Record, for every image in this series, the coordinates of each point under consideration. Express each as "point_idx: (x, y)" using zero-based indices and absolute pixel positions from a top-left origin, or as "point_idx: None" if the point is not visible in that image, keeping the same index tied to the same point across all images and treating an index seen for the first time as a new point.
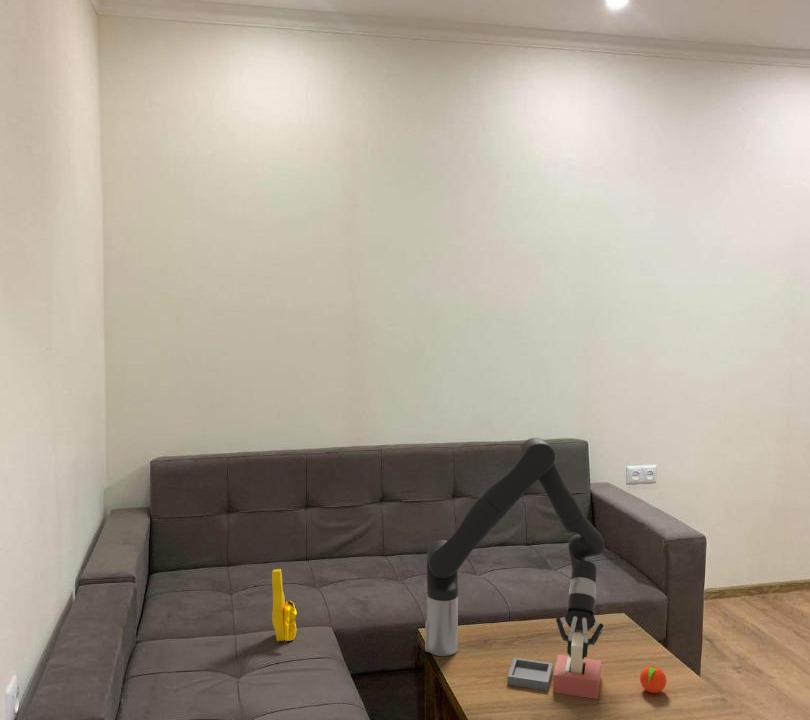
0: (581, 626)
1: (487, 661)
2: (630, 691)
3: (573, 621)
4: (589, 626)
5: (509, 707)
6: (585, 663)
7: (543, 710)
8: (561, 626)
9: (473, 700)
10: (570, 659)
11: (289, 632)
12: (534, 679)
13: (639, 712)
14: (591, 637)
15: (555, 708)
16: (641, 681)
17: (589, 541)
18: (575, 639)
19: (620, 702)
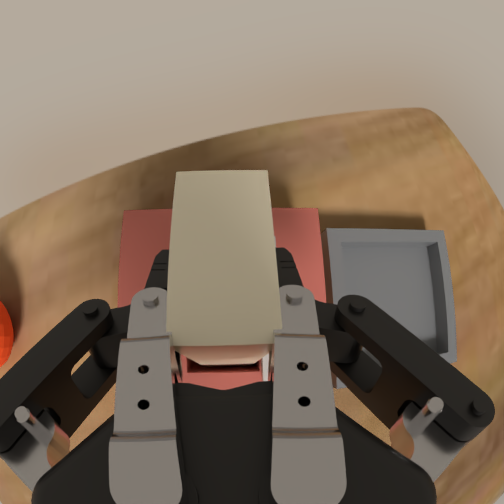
0: (195, 424)
1: (489, 345)
2: (48, 317)
3: (320, 435)
4: (96, 432)
5: (382, 131)
6: (189, 372)
7: (302, 131)
8: (418, 362)
9: (450, 149)
10: (265, 362)
11: None
12: (373, 233)
13: (40, 202)
14: (96, 326)
15: (272, 146)
16: (2, 315)
17: None
18: (243, 252)
19: (78, 238)
